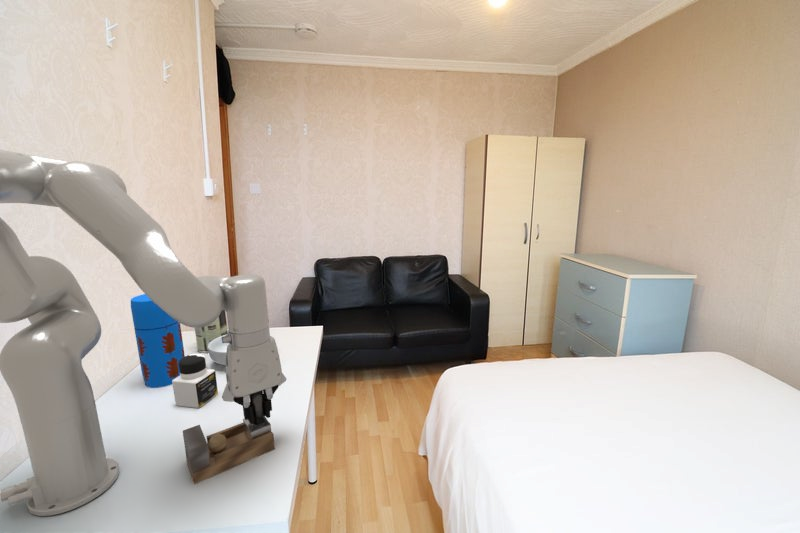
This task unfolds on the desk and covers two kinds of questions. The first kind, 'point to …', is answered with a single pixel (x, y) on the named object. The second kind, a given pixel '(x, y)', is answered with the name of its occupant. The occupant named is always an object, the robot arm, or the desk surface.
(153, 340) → the thermos
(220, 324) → the coffee can
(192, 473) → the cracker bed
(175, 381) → the medicine bottle
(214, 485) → the desk surface
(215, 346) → the cereal bowl
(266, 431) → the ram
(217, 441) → the nut
